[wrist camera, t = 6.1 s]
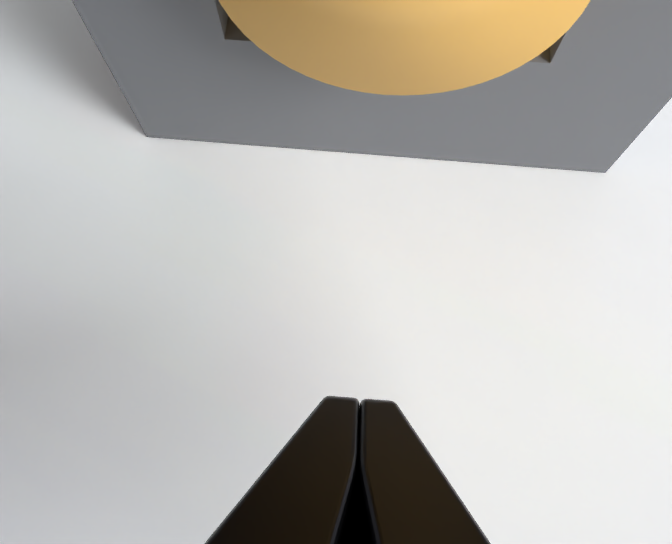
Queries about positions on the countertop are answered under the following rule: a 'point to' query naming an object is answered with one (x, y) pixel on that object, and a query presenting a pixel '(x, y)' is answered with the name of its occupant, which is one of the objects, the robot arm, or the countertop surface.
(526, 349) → the countertop surface
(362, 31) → the button
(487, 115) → the block
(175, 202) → the countertop surface
